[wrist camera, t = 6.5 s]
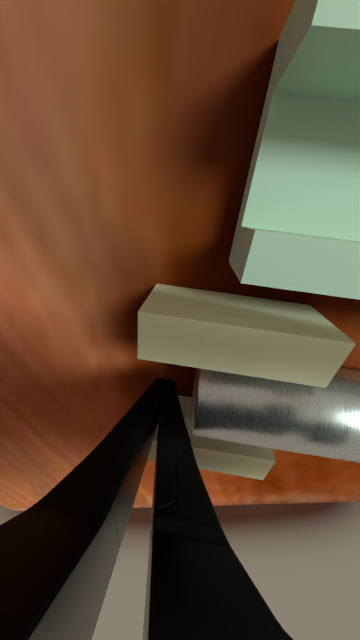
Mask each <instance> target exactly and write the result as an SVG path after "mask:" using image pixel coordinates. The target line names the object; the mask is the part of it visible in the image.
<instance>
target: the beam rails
mask: <svg viewBox="0 0 360 640" xmlns="http://www.w3.org/2000/svg"><path fill="white" fill-rule="evenodd" d="M355 345H356V343H355V342H354V341H352V340H351V339H350V338H349V337H348V336H346V335H345V334H344V333H343V332H342V331H340V330H339V329H338V328H337V327H335V326H334V325H333V324H332V323H331V322H329V321H328V320H327V319H326V318H325V317H323V316H322V315H321V314H320V313H319V312H317V311H316V310H315V309H314V308H313V307H311V306H310V305H306V304H299V303H292V302H285V301H278V300H271V299H263V298H256V297H249V296H242V295H235V294H228V293H221V292H214V291H207V290H199V289H192V288H185V287H178V286H171V285H164V284H156V285H155V287H154V288H153V290H152V291H151V293H150V294H149V296H148V297H147V299H146V300H145V302H144V303H143V305H142V306H141V308H140V309H139V311H138V359H142V360H149V361H155V362H162V363H168V364H175V365H181V366H188V367H194V368H200V369H207V370H213V371H220V372H226V373H233V374H239V375H245V376H252V377H258V378H265V379H271V380H278V381H284V382H290V383H297V384H303V385H310V386H316V387H323V388H326V387H327V386H328V384H329V383H330V381H331V380H332V378H333V377H334V375H335V374H336V372H337V371H338V369H339V368H340V367H341V365H342V364H343V362H344V361H345V359H346V358H347V356H348V355H349V353H350V352H351V350H352V349H353V348H354V346H355ZM178 397H179V401H180V405H181V408H182V412H183V416H184V419H185V423H186V427H187V430H188V434H189V438H190V441H191V446H192V448H193V452H194V456H195V459H196V462H197V465H198V469H202V470H208V471H214V472H220V473H225V474H231V475H237V476H243V477H248V478H254V479H260V480H263V479H264V478H265V476H266V475H267V473H268V472H269V470H270V469H271V468H272V466H273V465H274V463H275V462H276V460H275V457H274V453H273V450H272V448H266V447H260V446H253V445H247V444H241V443H235V442H229V441H223V440H216V439H210V438H204V437H198V436H192V435H191V433H190V416H191V402H192V397H187V396H181V395H178ZM157 432H158V426H157V430H156V433H155V436H154V439H153V442H152V446H151V449H150V452H149V455H148V459H147V460H151V461H155V460H156V446H157Z"/></svg>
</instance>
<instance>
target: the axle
mask: <svg viewBox="0 0 360 640" xmlns="http://www.w3.org/2000/svg"><path fill="white" fill-rule="evenodd" d="M190 433H191V435H192V436H198V437H204V438H210V439H216V440H223V441H229V442H235V443H241V444H247V445H253V446H260V447H266V448H272V449H278V450H284V451H290V452H297V453H303V454H309V455H315V456H321V457H327V458H333V459H340V460H346V461H352V462H358V463H360V371H359V370H352V369H345V368H339V369H338V371H337V372H336V374H335V375H334V377H333V378H332V380H331V381H330V383H329V384H328V386H327V387H326V388H323V387H316V386H310V385H303V384H297V383H290V382H284V381H278V380H271V379H265V378H258V377H252V376H245V375H239V374H233V373H226V372H220V371H213V370H207V369H200V368H196V370H195V376H194V383H193V392H192V402H191V416H190Z"/></svg>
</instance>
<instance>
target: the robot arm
mask: <svg viewBox="0 0 360 640" xmlns="http://www.w3.org/2000/svg"><path fill="white" fill-rule="evenodd" d="M157 426H158V432H157V446H156V460H155V474H154V488H153V502H152V516H151V531H150V545H149V559H148V571H147V585H146V599H145V613H144V627H143V640H293V639H292V638H291V637H290V636H289V635H288V634H287V633H286V632H285V631H284V629H283V628H282V627H281V625H280V624H279V622H278V621H277V620H276V618H275V617H274V615H273V613H272V612H271V610H270V609H269V607H268V605H267V604H266V602H265V601H264V599H263V597H262V596H261V594H260V593H259V591H258V589H257V588H256V586H255V585H254V583H253V582H252V580H251V578H250V577H249V575H248V574H247V572H246V570H245V569H244V567H243V566H242V564H241V562H240V561H239V559H238V558H237V556H236V555H235V553H234V551H233V550H232V548H231V546H230V544H229V542H228V540H227V538H226V536H225V534H224V532H223V530H222V527H221V525H220V523H219V520H218V518H217V515H216V513H215V510H214V507H213V505H212V502H211V500H210V497H209V495H208V492H207V490H206V487H205V485H204V482H203V479H202V477H201V474H200V471H199V469H198V465H197V462H196V459H195V456H194V452H193V448H192V446H191V441H190V438H189V434H188V430H187V427H186V423H185V419H184V416H183V412H182V408H181V405H180V401H179V397H178V394H177V390H176V387H175V383H174V380H170V379H166V380H165V379H164V378H157V379H156V380H155V381H154V382H153V383H152V384H151V385H150V386H149V388H148V389H147V390H146V391H145V392H144V393H143V394H142V396H141V397H140V398H139V399H138V400H137V401H136V402H135V404H134V405H133V406H132V407H131V408H130V409H129V410H128V412H127V413H126V414H125V415H124V416H123V417H122V418H121V420H120V421H119V422H118V423H117V424H116V425H115V426H114V428H113V429H112V430H111V432H109V433H108V434H107V436H106V437H105V438H104V439H103V440H102V441H101V442H100V443H99V444H98V445H97V447H96V448H95V449H94V450H93V451H92V452H91V453H90V454H89V455H88V456H87V457H86V458H85V459H84V460H83V461H82V462H81V463H80V464H78V465H77V466H76V467H75V468H74V469H73V470H72V471H71V472H70V473H69V474H68V475H67V476H66V477H65V478H64V479H63V480H62V481H60V482H59V483H58V484H57V485H56V486H55V487H54V488H53V489H52V490H51V491H50V492H49V493H48V494H47V495H45V496H44V497H43V498H42V499H41V500H40V501H38V502H37V503H36V504H34V505H33V506H32V507H30V508H29V509H27V510H26V511H24V512H22V513H21V514H19V515H17V516H15V517H14V518H12V519H10V520H9V521H7V522H5V523H4V524H2V525H0V640H91V639H92V636H93V633H94V630H95V626H96V623H97V620H98V617H99V613H100V610H101V607H102V604H103V601H104V598H105V594H106V591H107V588H108V585H109V581H110V578H111V575H112V572H113V568H114V565H115V562H116V559H117V555H118V552H119V548H120V546H121V542H122V539H123V536H124V533H125V530H126V526H127V523H128V520H129V517H130V514H131V510H132V507H133V504H134V501H135V497H136V494H137V491H138V488H139V484H140V481H141V478H142V475H143V472H144V468H145V465H146V462H147V459H148V455H149V452H150V449H151V446H152V442H153V439H154V436H155V433H156V430H157Z"/></svg>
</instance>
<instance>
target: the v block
mask: <svg viewBox="0 0 360 640" xmlns="http://www.w3.org/2000/svg"><path fill="white" fill-rule="evenodd" d="M228 262H229V264H230V265H231V267H232V269H233V271H234V272H235V274H236V276H237V278H238V279H239V281H240V283H242V284H249V285H257V286H264V287H271V288H278V289H286V290H293V291H300V292H307V293H314V294H322V295H329V296H336V297H343V298H351V299H358V300H360V0H296V1H295V3H294V5H293V8H292V10H291V12H290V15H289V17H288V19H287V21H286V24H285V26H284V28H283V31H282V33H281V35H280V38H279V42H278V46H277V50H276V55H275V59H274V64H273V68H272V72H271V77H270V81H269V85H268V90H267V94H266V99H265V103H264V107H263V112H262V116H261V121H260V125H259V129H258V134H257V138H256V142H255V147H254V151H253V156H252V160H251V164H250V169H249V173H248V177H247V182H246V186H245V191H244V195H243V199H242V204H241V208H240V213H239V217H238V221H237V226H236V230H235V234H234V239H233V243H232V248H231V252H230V256H229V261H228Z"/></svg>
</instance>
